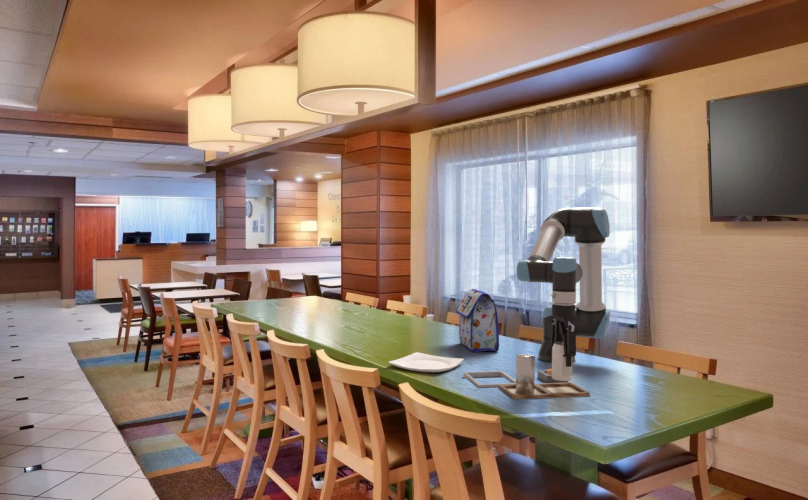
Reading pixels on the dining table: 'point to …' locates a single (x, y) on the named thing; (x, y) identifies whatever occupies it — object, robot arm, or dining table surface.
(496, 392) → the dining table surface
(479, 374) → the grey rectangular frame
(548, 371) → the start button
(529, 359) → the billet
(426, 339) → the dining table surface
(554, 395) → the divided wooden tray
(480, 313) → the lunch bag
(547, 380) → the grey square egg holder
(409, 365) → the plate
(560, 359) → the can
